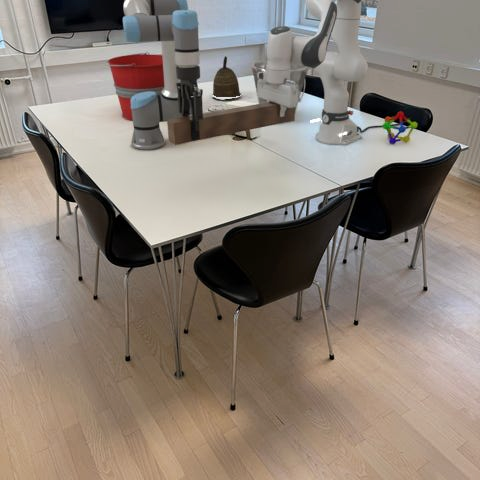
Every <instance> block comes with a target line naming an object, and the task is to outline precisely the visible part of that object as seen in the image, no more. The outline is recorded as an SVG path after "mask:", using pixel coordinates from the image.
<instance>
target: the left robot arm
mask: <svg viewBox="0 0 480 480" xmlns="http://www.w3.org/2000/svg"><path fill="white" fill-rule="evenodd" d="M122 6H123V7H122V8H123V13H124V14H123V15H124V16H123V17H122V27H123V34H124V40H125V41H126V42H128V43H149V42H151V43H152V42H160V43H161V55H162V58H163V72H164V88H163V89H162V91H161V94H162V95H157V94H156V92H153V91H152V92H150V91H147V92H142V93H138V94H136V95H134V96H132V98H131V109H132V117H133V120H132V125H133V132H132V135H131V142H130V143H131V147H132V148H134V149H135V150H141V151H151V150H153V151H154V150H157V149H161V148H163V147H164V146H165V144H166V140H165V137H164V135H163V132H162V130H161V127H160V123H165V122H166V123H167V120H168V119H174V118H180V117H185V116H192V120H190V121H191V135H192V140H198V139H200V133H199V120H203V113H204V112H203V94H204V91H203V88H199V85H198V80H200V78H201V66H200V56H201V54H200V48H199V47H200V45H199V43H200V42H199V41H200V40H199V25H200V24H199V19H198V17H199V16H198V13H197V11H196V10H194V9H193V10H192V9H189V6H188V0H124V1H123V5H122ZM198 141H199V140H198Z"/></svg>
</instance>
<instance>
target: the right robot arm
mask: <svg viewBox="0 0 480 480" xmlns="http://www.w3.org/2000/svg"><path fill="white" fill-rule="evenodd" d="M304 3H305V7H306V9H307V11H308V13H309V14H310V15H311V16H312V17H314V18H316V19H318V20H319V21H320V22H319V25H318V28H317V31H316V33H315V35H313V36H304V35H303V36H302V35H296V34H294V33H293V32H292V29H291V28H290V27H288V26H276V27H273V28H272V29H270V31H269V32H268V37H267V42H266V58H267V59H266V60H268V62H267V66H266V71H263V72H259V73H258V79H259V80H258V84H257V92H256V95H257V94H258V96H259V97H260V98H263V99H265V100H267V102H274V103H277V104H279V105H280V108H281V110H280V111H278V116H280V117H283V116H284V112H285V110H286V108H287V107H288V108H293V107H296V106H297V104H298V105H299V102H298V91H297V85H296V84H295V82H294V81H292V80H290V70H291V66H290V63H291V64H296V65H303V66H306V67H308V68H311V69H314V71H315V73H316V74H317V75H318V77H319V78H320V80H321V83H322V86H323V93H324V96H323V108H322V110H321V118H315V119H312V120H311V119H310V123H315V122H320V124H319V129H318V131H317V136H316V139H317V141H319V142H321V143H323V144H329V145H342V146H347V145H350V144H351V143H353V142H355V141H358V140H360V139H362V134H360V133H364V132H366V131H367V130H370V129H376V128H383V124H382V125H381V124H380V125H370V126H367V127H365V128H364V129H363V130H362V128H361V127H360V126H359V125H357V124H356V123H355V122H354V121H353V120H352V119H350V116H353V115H354V111H353V110H350V109H349V100H350V92H349V91H348V90H347V89H346V87H345V86H344V84H343V82H348V83H357V82H361V81H362V80H364V78H365V77H366V76H367V74H368V71H369V65H368V61H367V59H366V58H365V57H364V56H363V54H362V52H361V48H360V46H359V30H360V23H361V16H362V0H304ZM330 39H332V41H333V42H334V43H335V44H336V45H337V48H338V51H339V52H335V51H327V50H328V45H329V42H330ZM297 107H298V106H297ZM348 109H349V110H348ZM411 118H412V117H409V118H407V119H408V120H410V121H414V118H412V119H411ZM402 123H403V124H405V123H408V122H407V121H406V120H404V121H403V120H402ZM390 126H394V127H398V126H400V122H398V123H391V124H390ZM359 132H360V133H359Z"/></svg>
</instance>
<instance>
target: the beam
mask: <svg viewBox="0 0 480 480" xmlns="http://www.w3.org/2000/svg"><path fill="white" fill-rule="evenodd" d="M295 108H296V107H293V108H288V107H287V108H286V110H285V112H284V116H283V117H280V116H278V111H280V110H281V108H280V105H279V104H277V103H274V102H267V103H261V104H259V103H256V104H251V105H243V106H239V107H233V108H227V109H221V110H215V111H210V112H203V120H199V133H200V139H198V140H192V135H191V121H190V120H192V116H191V115H190V116H185V117H180V118H174V119H168V120H167V122H166V123H167V124H166V125H167V136H168V137H167V139H168V142H169V143H170V144H172V145H174V146H178V145H182V144H188V143H193V142H199V141H202V140H207V139H212V138H217V137H221V136H226V135H227V136H228V135H231V134H236V133H242V132H246V131H250V130H251V131H252V130H256V129H260V128H265V127H271V126H276V125H281V124H285V123H290V122H294V121H295V120H296V113H295Z"/></svg>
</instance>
